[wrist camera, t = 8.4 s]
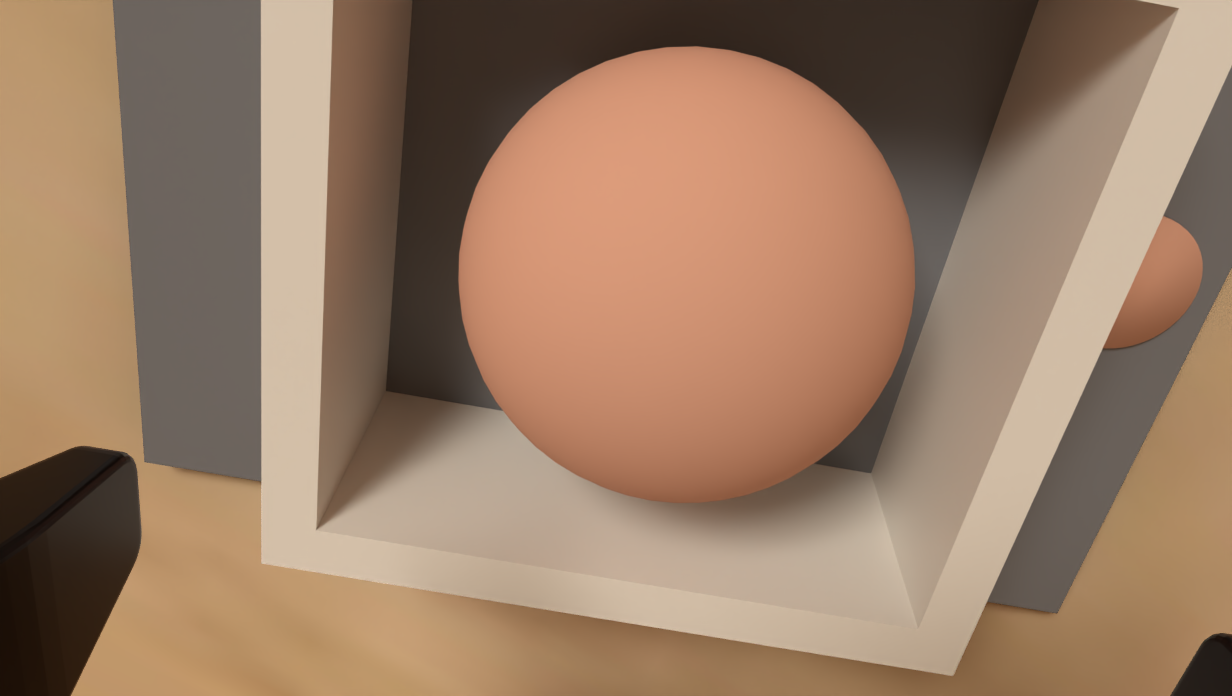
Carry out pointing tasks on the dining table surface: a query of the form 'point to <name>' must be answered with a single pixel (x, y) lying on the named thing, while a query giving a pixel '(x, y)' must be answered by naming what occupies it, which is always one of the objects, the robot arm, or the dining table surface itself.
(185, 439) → the tray on grey plate
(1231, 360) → the dining table surface
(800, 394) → the terracotta ball
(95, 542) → the robot arm
